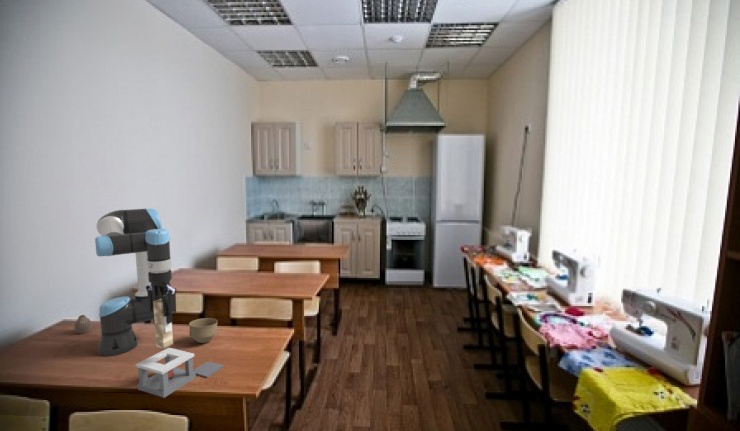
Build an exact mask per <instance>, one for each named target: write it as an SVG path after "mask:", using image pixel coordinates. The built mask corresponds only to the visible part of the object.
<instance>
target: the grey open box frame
mask: <svg viewBox="0 0 740 431" xmlns="http://www.w3.org/2000/svg"><path fill="white" fill-rule="evenodd" d="M195 356H196V355H195V353H194V352H193V353H192V352H188V351H184V350H181V349H177V348H171V347H166V348H164V349H163V350H161V351H159V352H157V353H155V354H154V355H151V356H149V357H147V358H145V359H143V360H142V361H140V362H138V363H135V368H137V369H138V382H139V383H137V385H136V387H137V390H138V391H142V392H145V393H147V394H151V395H155V396H157V397H160V398H163V399H165V398H166V397H168V396H169V395H171V394H172V393H175V392H176V391H177V390H179V389H180V388H182V387H183V386H186V385H187V384H188V383H189V382H192V381H193V380H194V379H196V376H197V375H196V373H194V372H193V370H194V357H195ZM162 359H164V364H163V363H160V362H159V361H161V360H162ZM183 363H184V369H183V368H179V367H178V366H180V365H182V364H183ZM171 369H173V374H174V375H173V376H172V377H171V378H169V380H168V371H169V370H171ZM148 371H149V372H153V373H155V374H153V375H151V376H150V377H149V376H148Z"/></svg>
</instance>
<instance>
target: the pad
mask: <svg viewBox="0 0 740 431" xmlns="http://www.w3.org/2000/svg"><path fill="white" fill-rule="evenodd" d="M224 367H225V365H224V364H220V363H217V362H213V361H206V362H205V363H203V364H201V365H200V366H197V367H196V368H195V369H194V368H193V372H194V373H196V376H199V377H204V378H206V379H208V378H209V377H210V376H212V375H215V373H217V372H218V371H220V370H222V369H223V368H224Z"/></svg>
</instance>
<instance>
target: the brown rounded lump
mask: <svg viewBox="0 0 740 431" xmlns="http://www.w3.org/2000/svg"><path fill="white" fill-rule="evenodd" d="M73 324H74V326H73V329H74V331H75V333H77V334H79V335H80V334H81V335H82V334H86V333H88V332H89V331H90V330H91V328H92V322H91V320H90V318H88V317H87V316H86V315H85V314H82V315H79V316H78V318H77V319H76V321H75V322H74V323H73Z"/></svg>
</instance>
